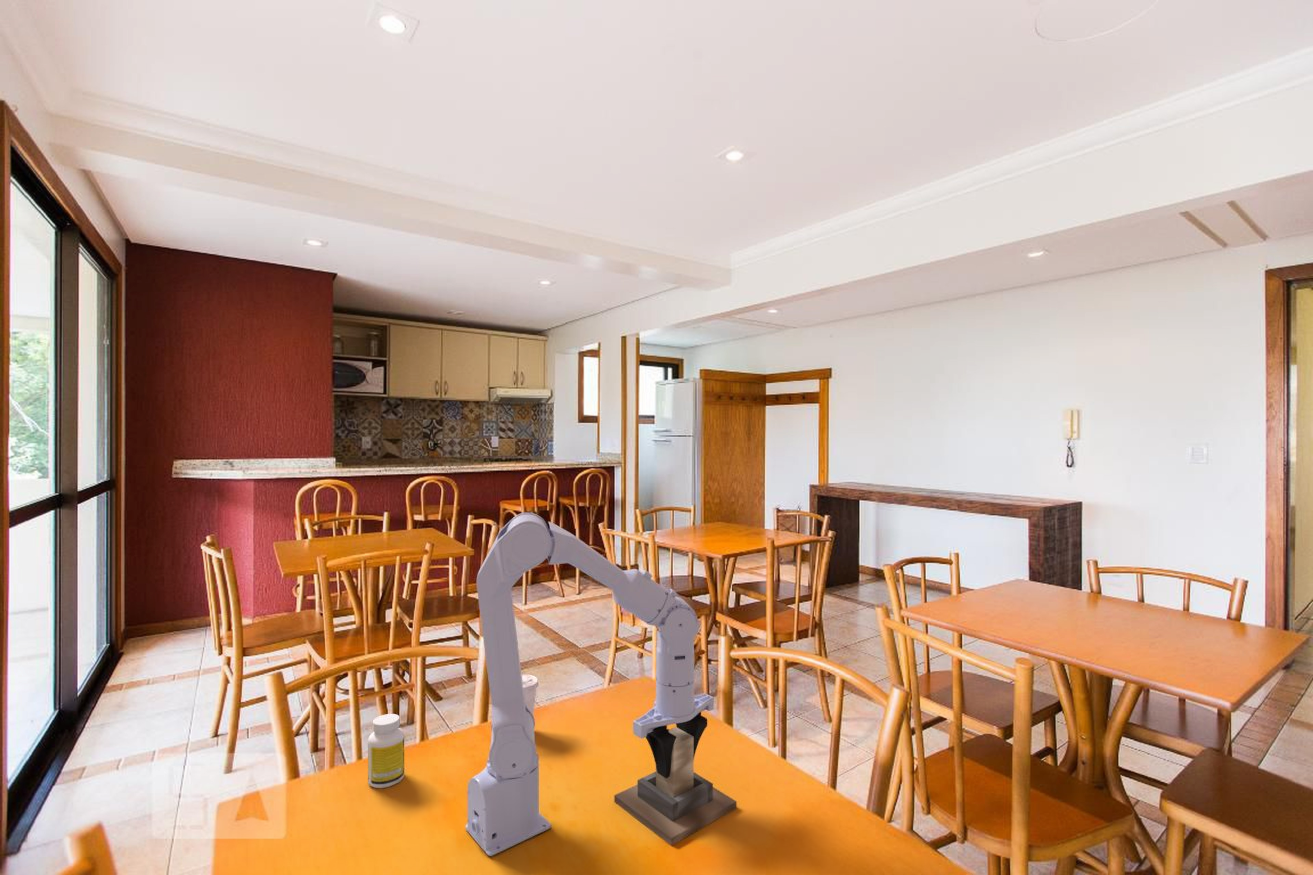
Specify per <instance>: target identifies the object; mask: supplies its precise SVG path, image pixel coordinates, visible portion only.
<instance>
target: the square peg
mask: <svg viewBox="0 0 1313 875" xmlns="http://www.w3.org/2000/svg"><path fill="white" fill-rule="evenodd" d="M668 729H669V733H671V734H673V735H675V736H676V740H675V742H674V746H673V750H672V756H671V771H670V776H669V777H668V778H664V777H663V776H661V775H660V774H658V773H657V768H656V767H655V772H656V787H657V788H659V789H660V790H662V791H663V792H665V793H666V794H667V795H669V796H670V797H672V798H675V797H677V796H679V795H681V794H683V793H685V792H687V791H689V790H691V789H693V781H694V773H695V772H694V771H695V769H694V766H695V765H694V761H695V760H694V759H695V756H694V737H693V736H692V735H690V734H688V733H686V732H684V731H682V730H681V729H679V728H677V726H674V727H672V728H668Z"/></svg>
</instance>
